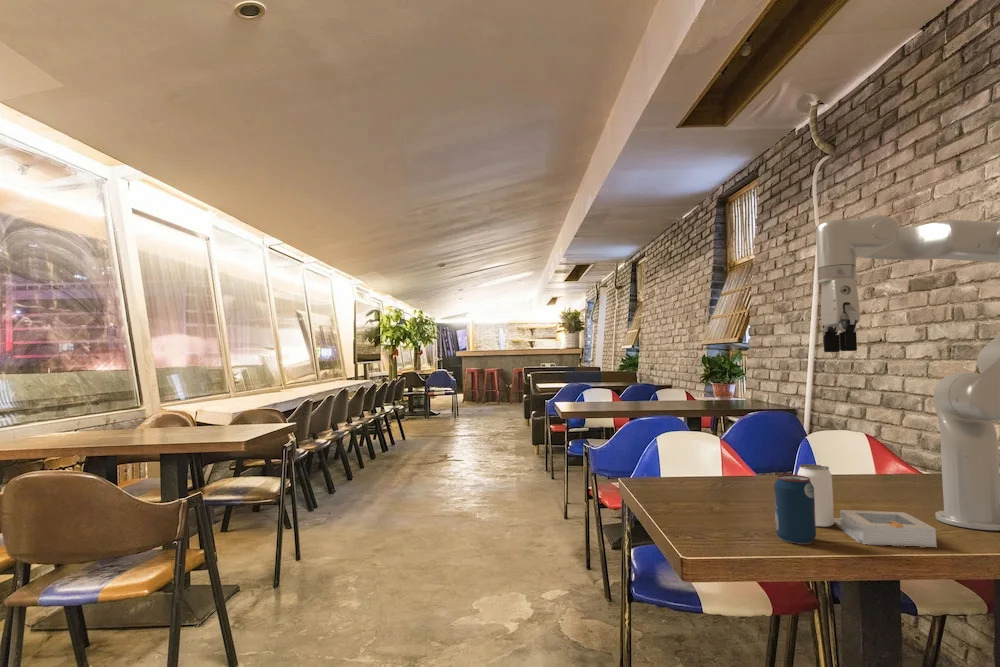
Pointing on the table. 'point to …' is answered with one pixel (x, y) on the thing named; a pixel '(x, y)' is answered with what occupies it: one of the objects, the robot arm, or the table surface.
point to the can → (820, 492)
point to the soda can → (794, 509)
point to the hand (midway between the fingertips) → (839, 351)
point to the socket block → (886, 528)
